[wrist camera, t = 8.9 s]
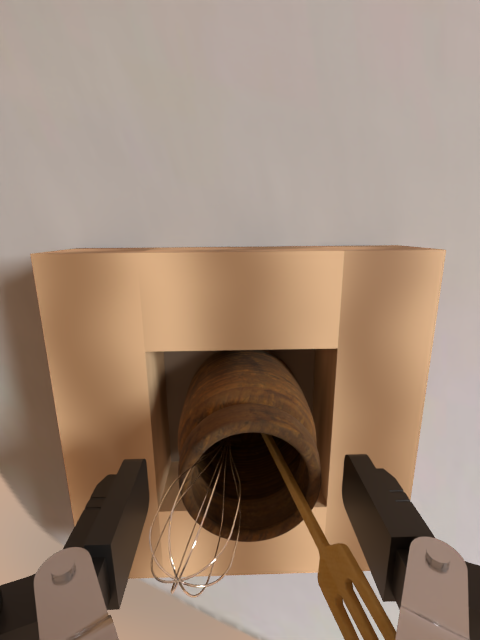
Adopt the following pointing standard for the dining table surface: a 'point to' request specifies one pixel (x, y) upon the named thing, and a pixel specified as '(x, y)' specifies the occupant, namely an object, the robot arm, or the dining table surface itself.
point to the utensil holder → (260, 475)
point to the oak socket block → (236, 334)
